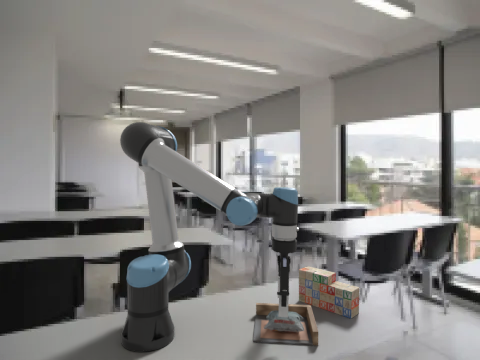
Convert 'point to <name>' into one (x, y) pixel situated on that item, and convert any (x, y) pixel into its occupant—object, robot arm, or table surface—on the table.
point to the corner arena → (282, 337)
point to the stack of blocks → (328, 292)
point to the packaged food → (284, 322)
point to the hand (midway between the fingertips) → (282, 306)
